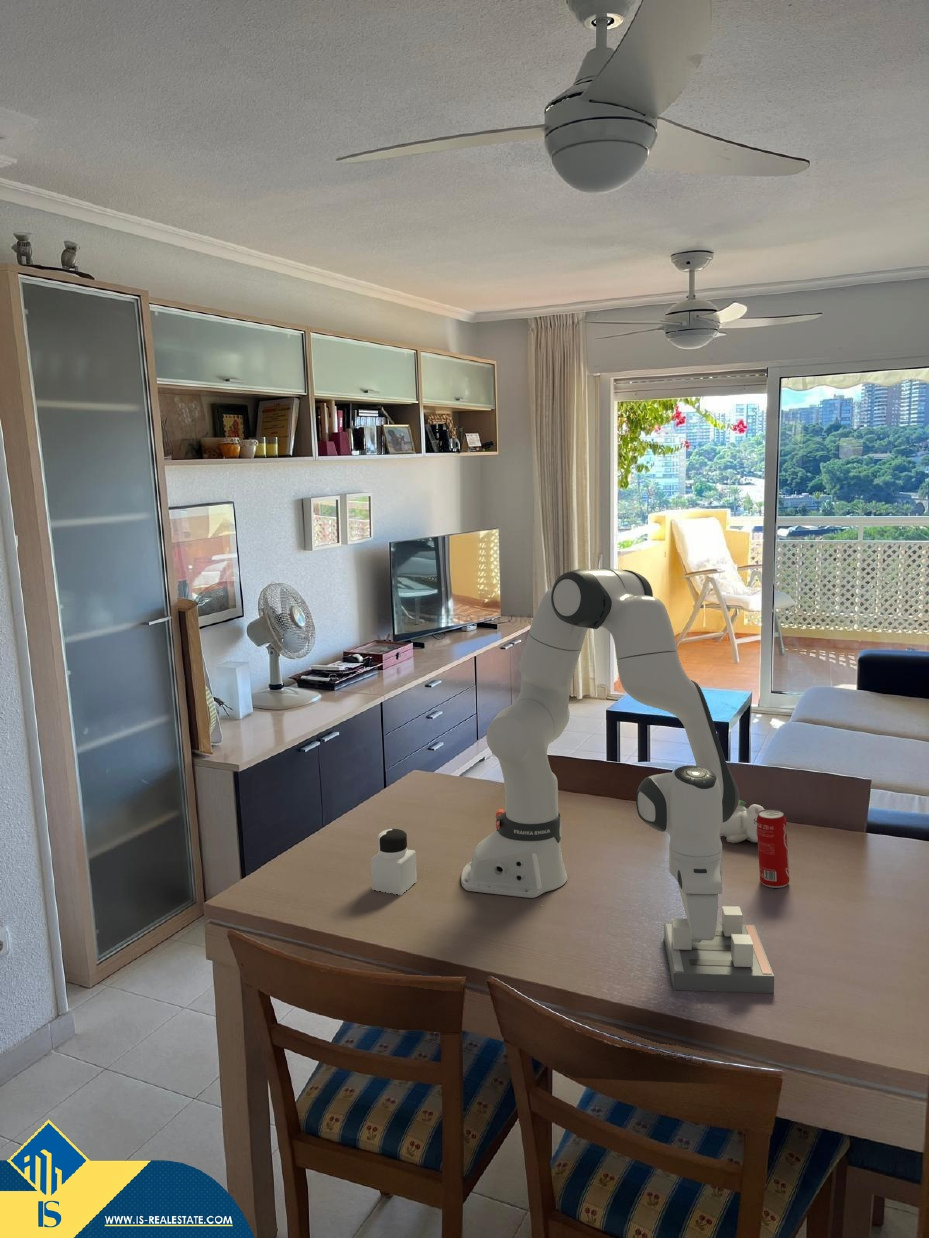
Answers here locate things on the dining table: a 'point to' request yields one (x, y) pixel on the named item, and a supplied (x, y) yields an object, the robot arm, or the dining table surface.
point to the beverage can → (772, 848)
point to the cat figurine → (742, 824)
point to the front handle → (742, 950)
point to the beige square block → (681, 934)
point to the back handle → (731, 920)
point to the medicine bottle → (393, 863)
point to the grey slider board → (718, 965)
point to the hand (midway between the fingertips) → (695, 938)
